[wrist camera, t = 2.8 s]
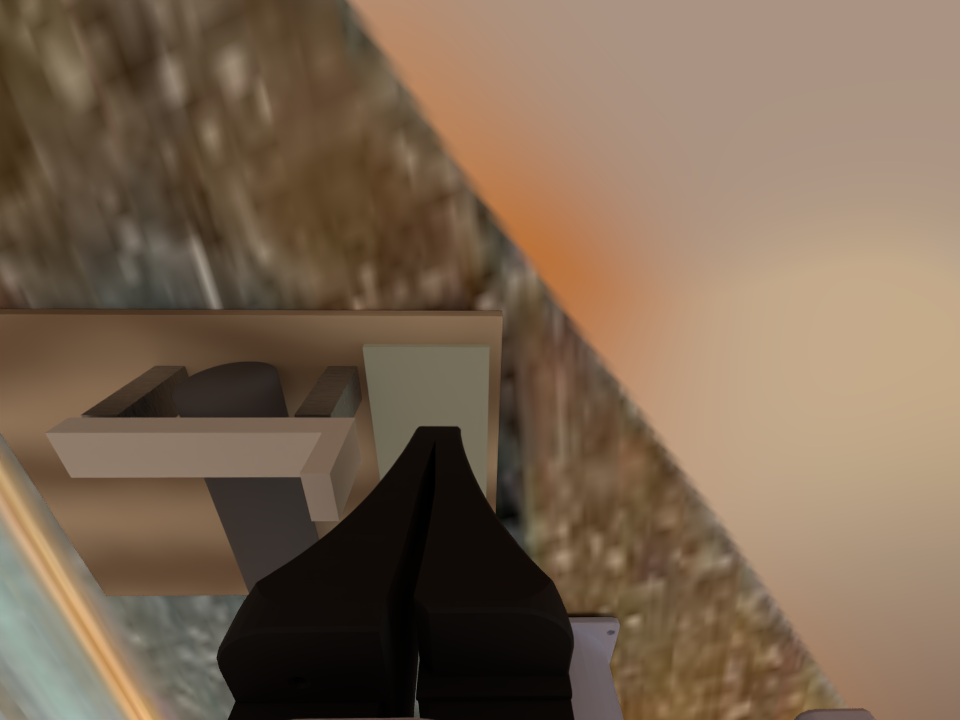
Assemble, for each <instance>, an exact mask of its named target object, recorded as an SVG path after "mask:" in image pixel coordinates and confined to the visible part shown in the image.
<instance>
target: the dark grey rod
mask: <svg viewBox="0 0 960 720" xmlns="http://www.w3.org/2000/svg"><path fill="white" fill-rule="evenodd" d="M172 398H173V400H174V403H175V406H176V408H177V411H178V413H179V416H180V418H289V415H288V411H287V407H286V403H285V399H284V395H283V391H282V386H281V382H280V378H279V374H278V371H277V369H276V368H275V367H274V366H272V365H270V364H267V363H263V362H234V363H228V364H223V365H219V366H215V367H212V368H209V369H206V370H203V371H201V372H198V373H196V374H194V375H192V376H190V377H188V378H187V379H185V380H184V381H182V382H181V383H180V384H178V385H177V386H176V388H175V389H174V391H173V393H172ZM204 480H205V482H206V485H207V487H208V490H209V492H210V495H211V498H212V500H213V503H214V505H215V508H216V510H217V513H218V515H219V518H220V521H221V523H222V526H223V528H224V531H225V533H226V536H227V538H228V541H229V544H230V546H231V549H232V551H233V554H234V556H235V559H236V561H237V564H238V567H239V569H240V572H241V574H242V577H243V579H244V582H245V584H246V587H247V590H248V592H249V593H250V592H251V590H252V588H253V587H254V585H255V584H256V582H257V581H259V580H261V579H263V578H264V577H266V576H267V575H269V574H271V573H272V572H274V571H275V570H277V569H278V568H280V567H282V566H283V565H285V564H286V563H288V562H289V561H291V560H292V559H294V558H295V557H297V556H298V555H300V554H301V553H303V552H304V551H305V550H307V549H308V548H309V547H310V546H312V545H313V544H314V543H316V542H317V541H318V540H319V538H318V533H317V529H316V525H315V521H311V517H310V513H309V509H308V505H307V501H306V497H305V493H304V489H303V485H302V481H301V477H204Z"/></svg>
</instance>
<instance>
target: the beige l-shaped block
mask: <svg viewBox="0 0 960 720" xmlns="http://www.w3.org/2000/svg"><path fill="white" fill-rule="evenodd" d="M45 434H46V436H47V437H48V439H49V441H50V443H51V444H52V446H53V448H54V449H55V451H56V453H57V454H58V456H59V458H60V460H61V461H62V463H63V465H64V466H65V468H66V470H67V472H68V473H69V475H70V477H71V478H166V477H301V481H302V485H303V489H304V493H305V497H306V501H307V505H308V509H309V513H310V517H311V521H340V518H341V516H342V513H343V510H344V507H345V505H346V502H347V499H348V496H349V494H350V491H351V488H352V486H353V483H354V480H355V477H356V475H357V472H358V469H359V466H360V464H361V461H362V460H361V453H360V447H359V441H358V434H357V428H356V422H355V418H67V419H65V420H64V421H62V422H61V423H59V424H58V425H56V426H55V427H53V428H51V429H50V430H48V431H47V432H45Z"/></svg>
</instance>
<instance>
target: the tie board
mask: <svg viewBox="0 0 960 720" xmlns="http://www.w3.org/2000/svg"><path fill="white" fill-rule="evenodd" d="M502 323H503V315H502V311H396V310H155V309H0V433H1V434H2V436H3V437H4V439H5V440H6V442H7V444H8V445H9V447H10V448H11V450H12V451H13V453H14V454H15V456H16V457H17V459H18V461H19V462H20V464H21V465H22V467H23V468H24V470H25V471H26V473H27V474H28V476H29V478H30V479H31V481H32V482H33V484H34V485H35V487H36V488H37V490H38V491H39V493H40V495H41V496H42V498H43V499H44V501H45V502H46V504H47V505H48V507H49V509H50V510H51V512H52V513H53V515H54V516H55V518H56V519H57V521H58V522H59V524H60V526H61V527H62V529H63V530H64V532H65V533H66V535H67V536H68V538H69V539H70V541H71V543H72V544H73V546H74V547H75V549H76V550H77V552H78V553H79V555H80V556H81V558H82V560H83V561H84V563H85V564H86V566H87V567H88V569H89V570H90V572H91V573H92V575H93V577H94V578H95V580H96V581H97V583H98V584H99V586H100V587H101V589H102V591H103V592H104V594H105V595H106V596H167V595H249V592H248V590H247V587H246V584H245V582H244V579H243V577H242V574H241V572H240V569H239V567H238V564H237V561H236V559H235V556H234V554H233V551H232V549H231V546H230V544H229V541H228V538H227V536H226V533H225V531H224V528H223V526H222V523H221V521H220V518H219V515H218V513H217V510H216V508H215V505H214V503H213V500H212V498H211V495H210V492H209V490H208V487H207V485H206V482H205V480H204V477H166V478H71V477H70V475H69V473H68V472H67V470H66V468H65V466H64V465H63V463H62V461H61V460H60V458H59V456H58V454H57V453H56V451H55V449H54V448H53V446H52V444H51V443H50V441H49V439H48V437H47V436H46V434H45V432H47V431H48V430H50V429H51V428H53V427H55V426H56V425H58V424H59V423H61V422H62V421H64V420H65V419H67V418H180V416H179V413H178V411H177V408H176V406H175V403H174V400H173V398H172V393H173V391H174V389H175V388H176V386H177V385H178V384H180V383H181V382H182V381H184V380H185V379H187V378H188V377H190V376H192V375H194V374H196V373H198V372H201V371H203V370H206V369H209V368H212V367H215V366H219V365H223V364H228V363H234V362H263V363H267V364H270V365H272V366H274V367H275V368H276V369H277V371H278V374H279V378H280V382H281V386H282V391H283V395H284V399H285V403H286V407H287V411H288V415H289V418H355V422H356V428H357V434H358V441H359V447H360V453H361V460H362V461H361V464H360V466H359V469H358V472H357V475H356V477H355V480H354V483H353V486H352V488H351V491H350V494H349V496H348V499H347V502H346V505H345V507H344V510H343V513H342V516H341V518H340V521H315V525H316V529H317V533H318V538H319V540H320V539H321V538H322V537H324V536H325V535H326V534H327V533H329V532H330V531H331V530H332V529H333V528H334V527H336V526H337V525H338V524H339V523H340V522H341V521H342V520H343V519H344V518H346V517H347V516H348V515H349V514H350V513H351V512H352V511H353V510H354V509H355V508H356V507H357V506H358V505H359V504H360V503H361V502H362V501H363V500H364V499H365V498H366V497H367V496H368V495H369V494H370V492H371V491H372V490H373V489H374V488H375V487H376V486H377V484H378V483H379V482H380V481H381V480H382V478H383V477H384V476H385V475H386V473H387V472H388V471H389V470H390V468H391V467H392V466H393V464H394V463H395V461H396V460H397V459H398V457H399V456H400V455H401V453H402V452H403V450H404V449H405V447H406V446H407V444H408V442H409V441H410V439H411V438H412V436H413V434H414V432H415V430H416V429H417V428H418V427H419V426H458V427H459V428H460V429H461V438H462V442H463V446H464V450H465V453H466V456H467V459H468V461H469V464H470V466H471V469H472V471H473V474H474V476H475V478H476V480H477V482H478V484H479V486H480V488H481V490H482V492H483V494H484V496H485V497H486V499H487V501H488V503H489V504H490V506H491V507H492V509H493V511H494V512H495V513H496V486H497V459H498V432H499V405H500V377H501V350H502Z"/></svg>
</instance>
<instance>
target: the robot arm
mask: <svg viewBox="0 0 960 720" xmlns="http://www.w3.org/2000/svg"><path fill="white" fill-rule="evenodd" d="M619 629H620V624H619V621H618V619H617V618H614V617H568V614H567V612H566V609H565V607H564V604H563V602H562V599H561V597H560V595H559V593H558V591H557V589H556V586H555V584H554V582H553V581H552V580H551V579H550V578H549V577H548V576H547V575H546V574H545V573H544V572H543V571H542V570H541V569H540V568H539V567H538V566H537V565H536V564H535V563H534V562H533V561H532V560H531V558H530V557H529V556H528V555H527V554H526V553H525V552H524V551H523V549H522V548H521V547H520V546H519V545H518V544H517V542H516V541H515V540H514V538H513V537H512V536H511V534H510V533H509V532H508V531H507V529H506V528H505V527H504V525H503V524H502V523H501V521H500V520H499V518H498V517H497V515H496V514H495V512H494V511H493V509H492V507H491V506H490V504H489V503H488V501H487V499H486V497H485V496H484V494H483V492H482V490H481V488H480V486H479V484H478V482H477V480H476V478H475V476H474V474H473V471H472V469H471V466H470V464H469V461H468V459H467V456H466V453H465V450H464V446H463V442H462V438H461V429H460V428H459V427H458V426H419V427H418V428H417V429H416V430H415V432H414V434H413V436H412V438H411V439H410V441H409V442H408V444H407V446H406V447H405V449H404V450H403V452H402V453H401V455H400V456H399V457H398V459H397V460H396V461H395V463H394V464H393V466H392V467H391V468H390V470H389V471H388V472H387V473H386V475H385V476H384V477H383V478H382V480H381V481H380V482H379V483H378V484H377V486H376V487H375V488H374V489H373V490H372V491H371V492H370V494H369V495H368V496H367V497H366V498H365V499H364V500H363V501H362V502H361V503H360V504H359V505H358V506H357V507H356V508H355V509H354V510H353V511H352V512H351V513H350V514H349V515H348V516H347V517H346V518H344V519H343V520H342V521H341V522H340V523H339V524H338V525H337V526H336V527H334V528H333V529H332V530H331V531H330V532H329V533H327V534H326V535H325V536H324V537H322V538H321V539H320V540H318V541H317V542H316V543H314V544H313V545H312V546H310V547H309V548H308V549H307V550H305V551H304V552H303V553H301V554H300V555H298V556H297V557H295V558H294V559H292V560H291V561H289V562H288V563H286V564H285V565H283V566H282V567H280V568H278V569H277V570H275V571H274V572H272V573H271V574H269V575H267V576H266V577H264V578H263V579H261V580H259V581H257V582H256V584H255V585H254V587H253V588H252V590H251V592H250V593H249V595H248V596H247V598H246V599H245V600H244V602H243V604H242V605H241V607H240V609H239V610H238V612H237V614H236V616H235V618H234V620H233V622H232V624H231V626H230V628H229V630H228V632H227V633H226V635H225V637H224V639H223V641H222V643H221V645H220V647H219V650H218V654H217V661H218V665H219V669H220V671H221V673H222V675H223V677H224V679H225V681H226V683H227V685H228V687H229V689H230V691H231V693H232V695H233V697H234V699H235V701H236V702H235V704H234V706H233V709H232V711H231V713H230V716H229V718H228V720H624V719H623V716H622V712H621V708H620V704H619V701H618V697H617V693H616V689H615V686H614V682H613V678H612V674H611V670H610V667H609V665H610V661H611V657H612V654H613V650H614V647H615V643H616V639H617V636H618V632H619ZM418 652H419V657H420V662H419V672H418V681H417V690H416V678H417V665H418ZM415 691H416V700H417V701H418V704H419V713H420V718H414V705H415ZM794 720H875V718H874V717H873V716H872V715H871V713H870V712H869V711H867V710H865V709H814V710H808V711H806V712H803V713H801V714H799V715H798V716H797V717H796V718H795V719H794Z"/></svg>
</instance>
